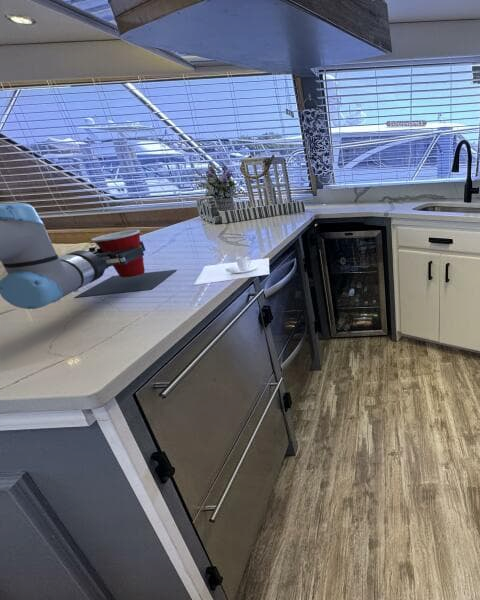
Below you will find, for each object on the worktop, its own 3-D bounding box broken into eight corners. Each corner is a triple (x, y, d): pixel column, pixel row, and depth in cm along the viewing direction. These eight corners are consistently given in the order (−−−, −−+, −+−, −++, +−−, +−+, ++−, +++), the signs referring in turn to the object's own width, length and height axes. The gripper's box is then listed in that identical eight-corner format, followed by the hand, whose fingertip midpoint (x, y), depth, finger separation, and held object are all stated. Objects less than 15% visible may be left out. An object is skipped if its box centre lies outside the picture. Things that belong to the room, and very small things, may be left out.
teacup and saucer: (225, 276, 95) (222, 263, 94) (228, 268, 102) (225, 256, 101) (257, 271, 98) (254, 258, 97) (257, 265, 105) (255, 252, 103)
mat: (74, 297, 84) (73, 297, 84) (113, 276, 100) (112, 275, 100) (151, 289, 87) (151, 288, 87) (177, 270, 103) (177, 269, 103)
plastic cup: (111, 273, 95) (94, 232, 90) (155, 266, 100) (141, 227, 95) (104, 283, 86) (84, 239, 81) (152, 275, 91) (137, 233, 86)
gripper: (32, 290, 73) (94, 263, 94) (131, 280, 77) (169, 256, 98) (15, 258, 70) (83, 237, 91) (118, 249, 74) (161, 231, 95)
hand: (128, 247), depth 94 cm, fingers closed on plastic cup, 7 cm apart
